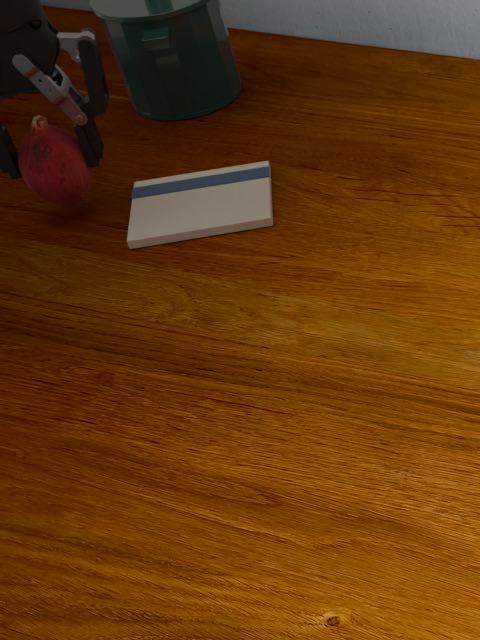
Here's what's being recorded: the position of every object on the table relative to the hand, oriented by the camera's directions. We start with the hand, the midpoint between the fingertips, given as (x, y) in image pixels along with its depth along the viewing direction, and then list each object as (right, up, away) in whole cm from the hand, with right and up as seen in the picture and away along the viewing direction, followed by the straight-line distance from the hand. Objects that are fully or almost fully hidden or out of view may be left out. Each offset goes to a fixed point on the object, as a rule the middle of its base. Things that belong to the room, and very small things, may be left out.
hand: (56, 167), depth 89 cm
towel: (+12, -3, +2) cm, 12 cm away
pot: (+5, +13, +17) cm, 22 cm away
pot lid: (+5, +20, +10) cm, 23 cm away
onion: (0, -3, +3) cm, 4 cm away
